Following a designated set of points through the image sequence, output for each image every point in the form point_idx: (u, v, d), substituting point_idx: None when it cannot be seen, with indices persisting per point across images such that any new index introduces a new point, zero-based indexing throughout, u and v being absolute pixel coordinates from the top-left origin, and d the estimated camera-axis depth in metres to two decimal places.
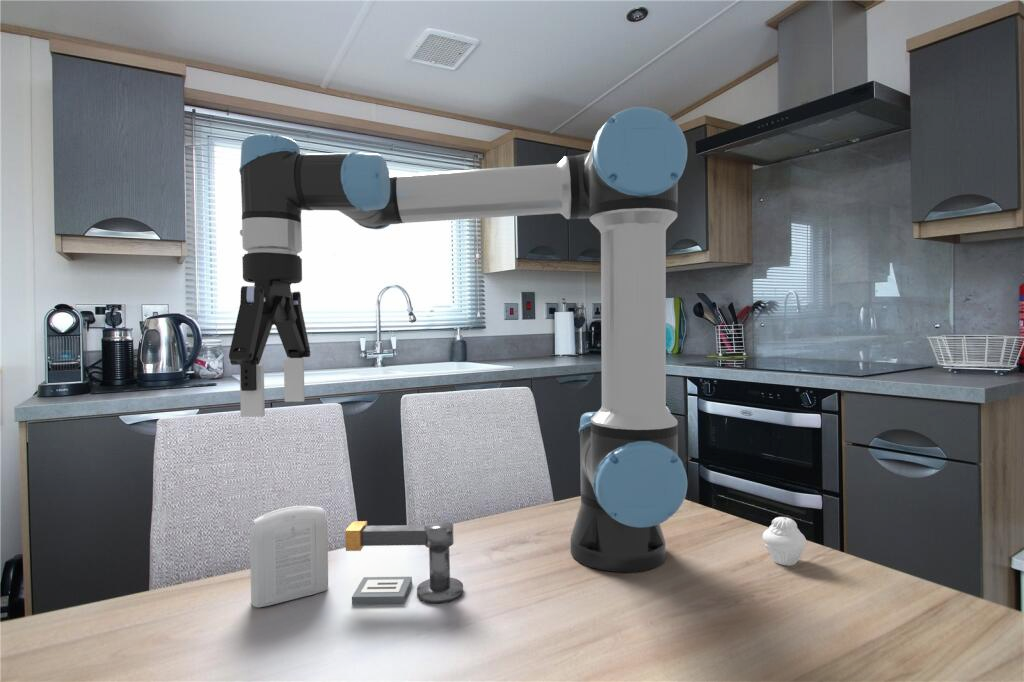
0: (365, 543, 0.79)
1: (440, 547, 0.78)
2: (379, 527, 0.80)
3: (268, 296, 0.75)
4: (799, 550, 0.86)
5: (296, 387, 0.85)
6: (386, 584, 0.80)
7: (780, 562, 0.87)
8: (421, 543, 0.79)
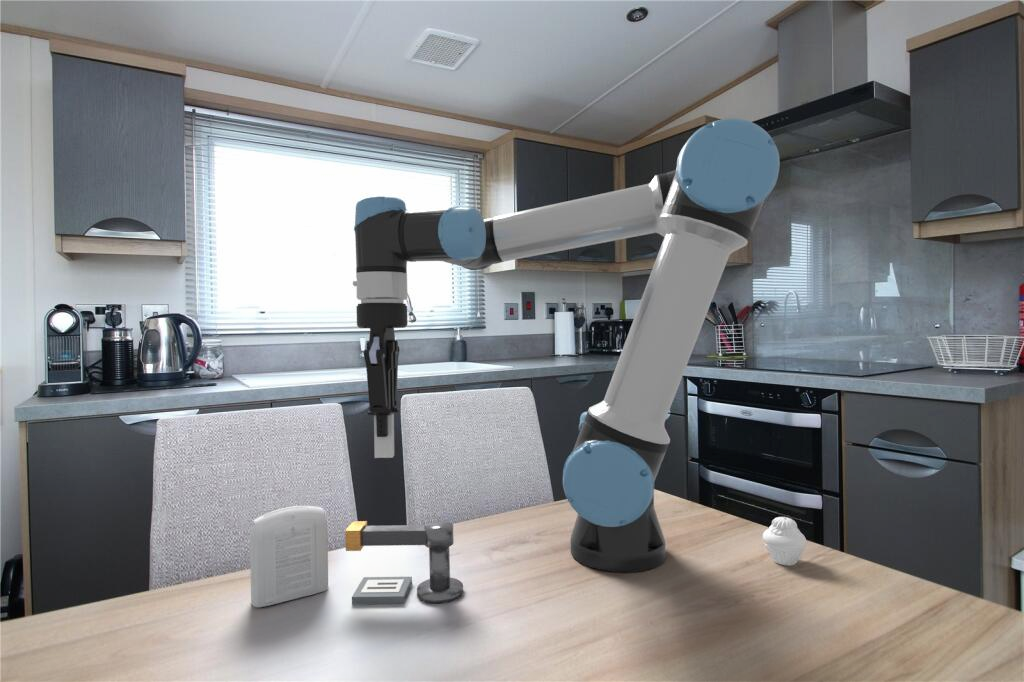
0: (365, 543, 0.79)
1: (440, 547, 0.78)
2: (379, 527, 0.80)
3: (383, 345, 0.83)
4: (799, 550, 0.86)
5: None
6: (386, 584, 0.80)
7: (780, 562, 0.87)
8: (421, 543, 0.79)
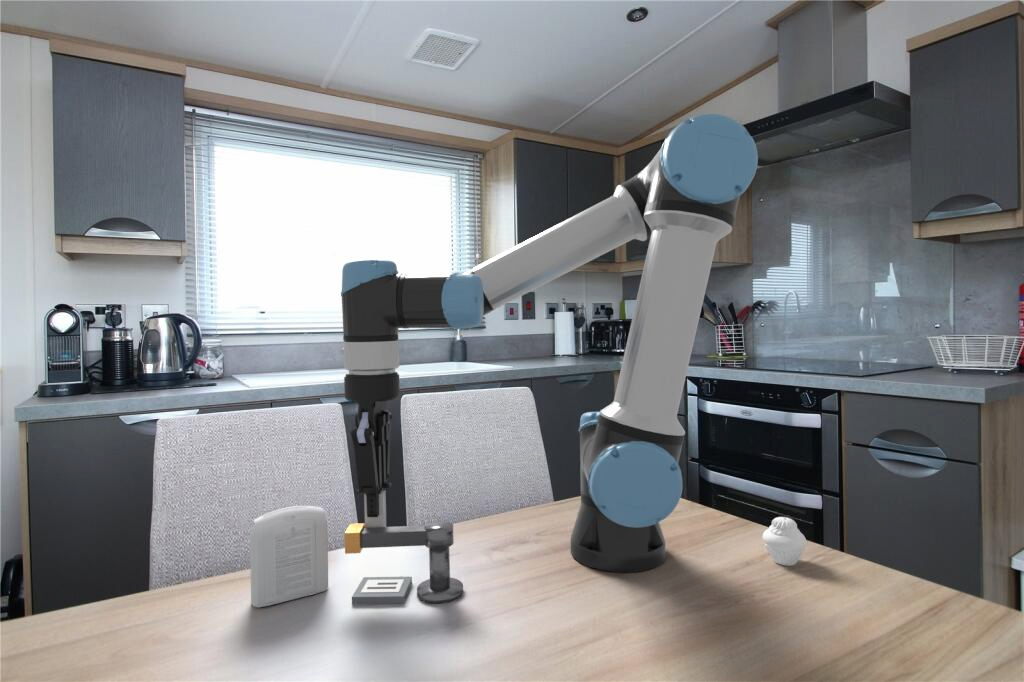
0: (365, 546, 0.78)
1: (441, 547, 0.78)
2: (378, 529, 0.79)
3: (373, 421, 0.77)
4: (799, 550, 0.86)
5: None
6: (386, 584, 0.80)
7: (780, 562, 0.87)
8: (421, 543, 0.79)
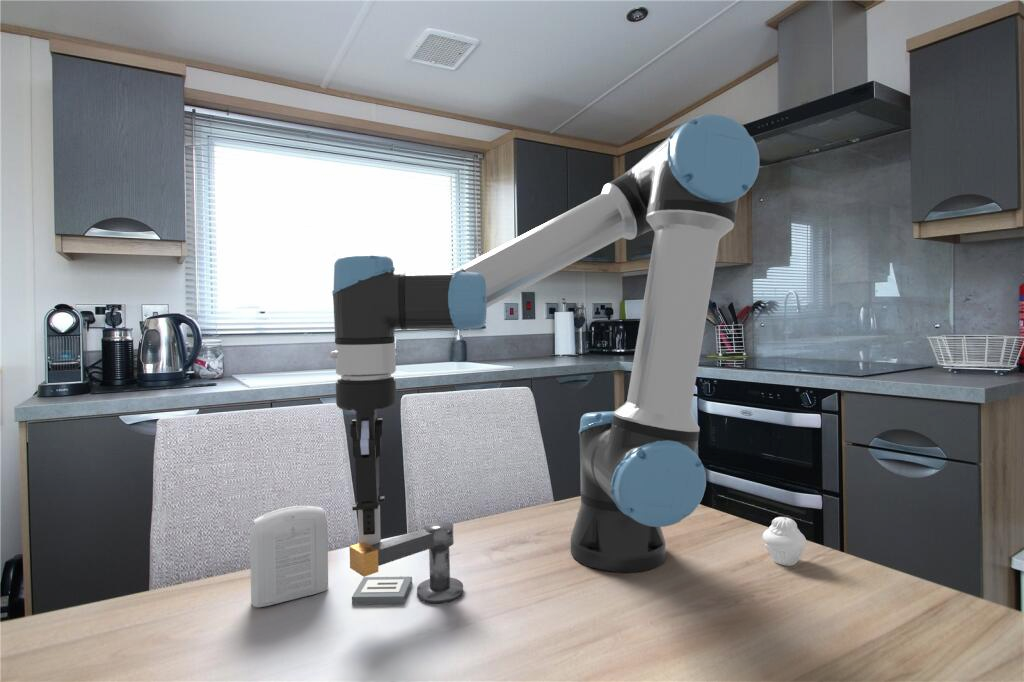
0: (379, 563, 0.72)
1: (450, 544, 0.79)
2: (384, 543, 0.74)
3: (373, 431, 0.71)
4: (799, 550, 0.86)
5: None
6: (386, 584, 0.80)
7: (780, 562, 0.87)
8: (429, 546, 0.77)
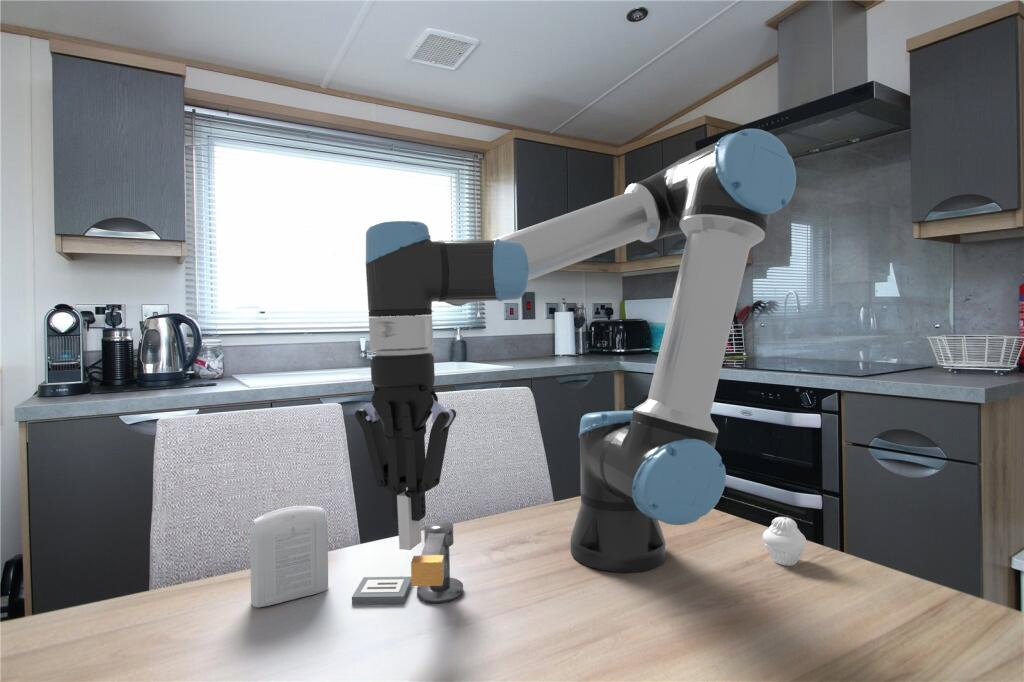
0: None
1: (453, 540, 0.80)
2: (428, 551, 0.71)
3: None
4: (799, 550, 0.86)
5: None
6: (386, 584, 0.80)
7: (780, 562, 0.87)
8: (445, 546, 0.77)
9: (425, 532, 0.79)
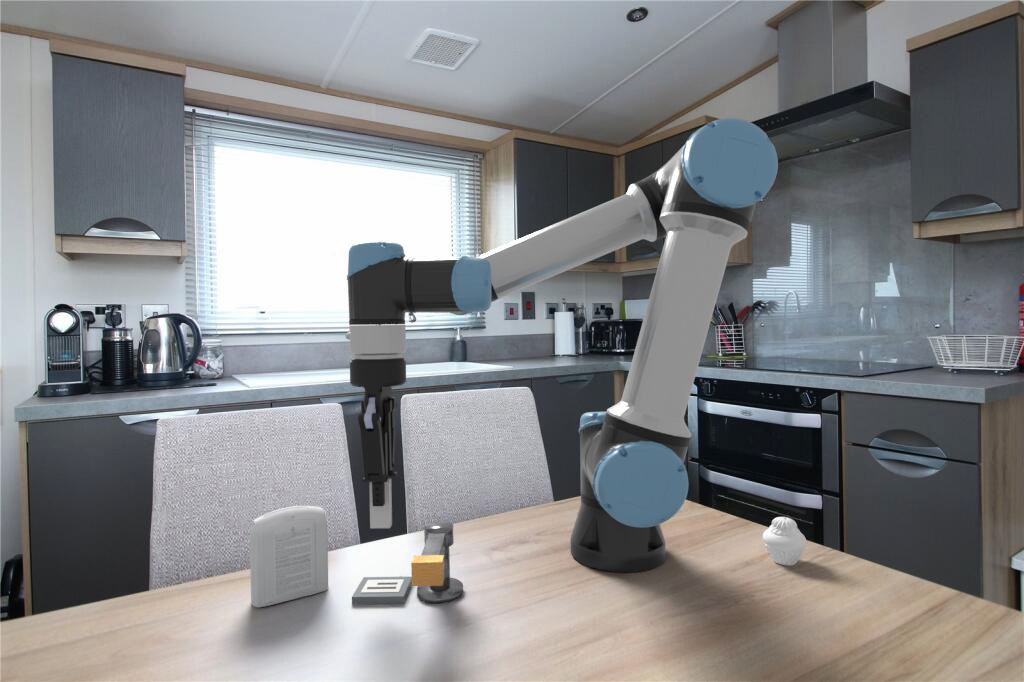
0: None
1: (453, 540, 0.80)
2: (428, 551, 0.71)
3: (380, 407, 0.75)
4: (799, 550, 0.86)
5: None
6: (386, 584, 0.80)
7: (780, 562, 0.87)
8: (445, 546, 0.77)
9: (425, 532, 0.79)
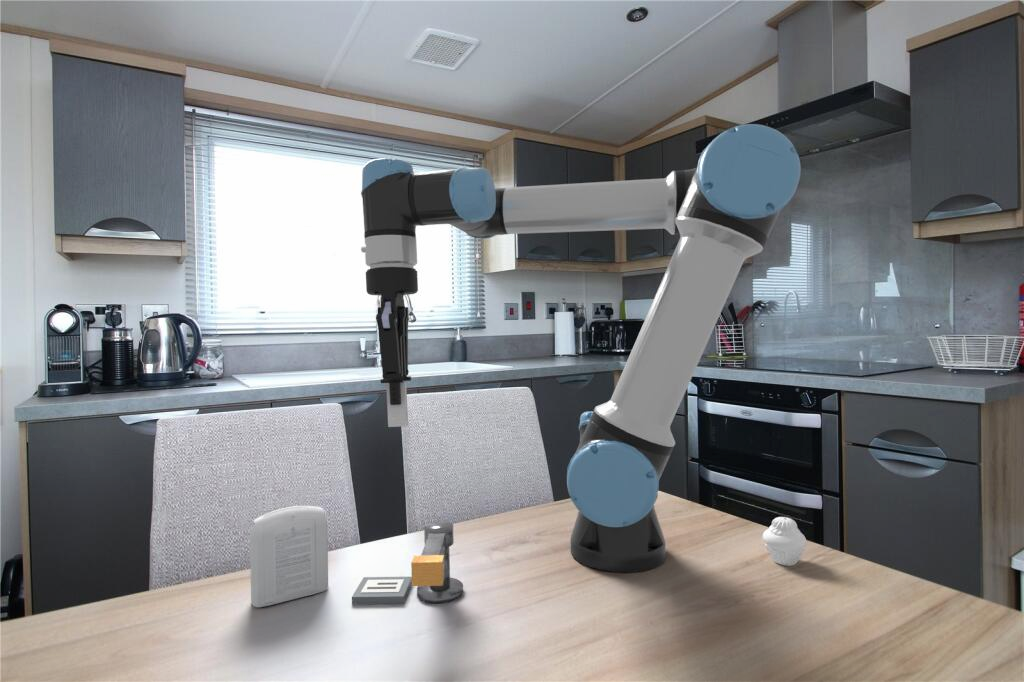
0: None
1: (453, 540, 0.80)
2: (428, 551, 0.71)
3: (395, 310, 0.82)
4: (799, 550, 0.86)
5: None
6: (386, 584, 0.80)
7: (780, 562, 0.87)
8: (445, 546, 0.77)
9: (425, 532, 0.79)
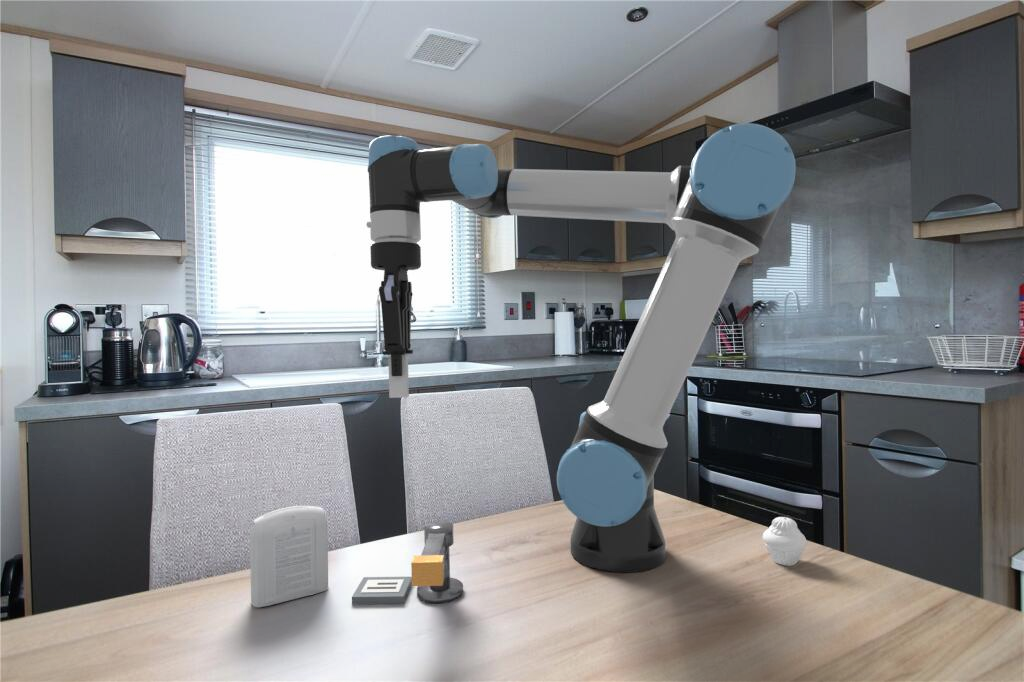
0: None
1: (453, 540, 0.80)
2: (428, 551, 0.71)
3: (398, 283, 0.84)
4: (799, 550, 0.86)
5: None
6: (386, 584, 0.80)
7: (780, 562, 0.87)
8: (445, 546, 0.77)
9: (425, 532, 0.79)
